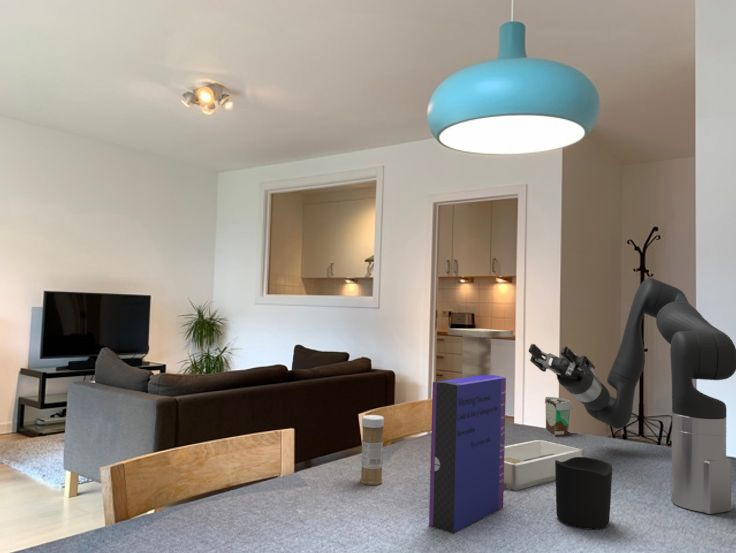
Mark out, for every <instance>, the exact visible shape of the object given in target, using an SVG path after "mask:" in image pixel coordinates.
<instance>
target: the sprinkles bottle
mask: <svg viewBox="0 0 736 553" xmlns="http://www.w3.org/2000/svg"><path fill="white" fill-rule="evenodd" d="M384 426H385V418H384V416H382V415H377V414H376V415H375V414H369V415H363V416H362V418H361V427H362V440H361V460H360V462H361V464H360V465H361V472H360V473H361V475H360V482H361V483H362V484H364V485H367V486H376V485H381V484H382V482H383V463H384V462H383V461H384V460H383V458H384V457H383V455H384V451H383V448H384V446H383V445H384V444H383V443H384Z"/></svg>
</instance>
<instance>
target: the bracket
mask: <svg viewBox="0 0 736 553" xmlns="http://www.w3.org/2000/svg"><path fill="white" fill-rule="evenodd" d="M447 335H449V336H462V363H461V364H462V367H461V368H462V369H461V372H462V373H461V378H466V377H473V376H480V375H491V362H492V361H491V354H492V353H491V352H492V338H509V337H510V338H513V337H514V330H504V329H501V330H500V329H491V328H490V329H488V328H447ZM506 489H507V488H506V484H504V491H506Z"/></svg>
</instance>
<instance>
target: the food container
mask: <svg viewBox="0 0 736 553" xmlns="http://www.w3.org/2000/svg"><path fill="white" fill-rule="evenodd" d="M544 398H545V399H544V404H545V431H546V432H547V433H548V434H550V435H551V436H553V437H554V438H564V437H567V436H568V435H569V424H570V411H571V410H572V409H573V404H572V402H571V400H569V399H567V398H561V397H554V396H545V397H544Z"/></svg>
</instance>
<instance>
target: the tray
mask: <svg viewBox="0 0 736 553" xmlns="http://www.w3.org/2000/svg"><path fill="white" fill-rule="evenodd" d="M552 453H553V454H556V455H551V456H547V457H543V458H538V459H534V460H529V461H525V462H521V463H516V464H514V463H510V462H507V461H504V484H506V488H505V489H508V490H512V491H514V492H515V491H516V492H517V491H520V490H523V489H526V488H531V487H535V486H538V485H542V484H545V483H549V482H553V481H556V476H555V460H558V461H559V462H563V461H566V460H568V459H571V458H574V457H585V449H582V448H577V447H572V446H569V445H565V444H560V443H555V442H550V441H546V440H542V439H536V440H530V441H525V442H521V443H520V442H519V443H515V444H510V445H505V449H504V458H508V457H510V458H514V459H518V460H521V461H522V460H527V459H531V458H535V457H539V456H544V455H548V454H552Z"/></svg>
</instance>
